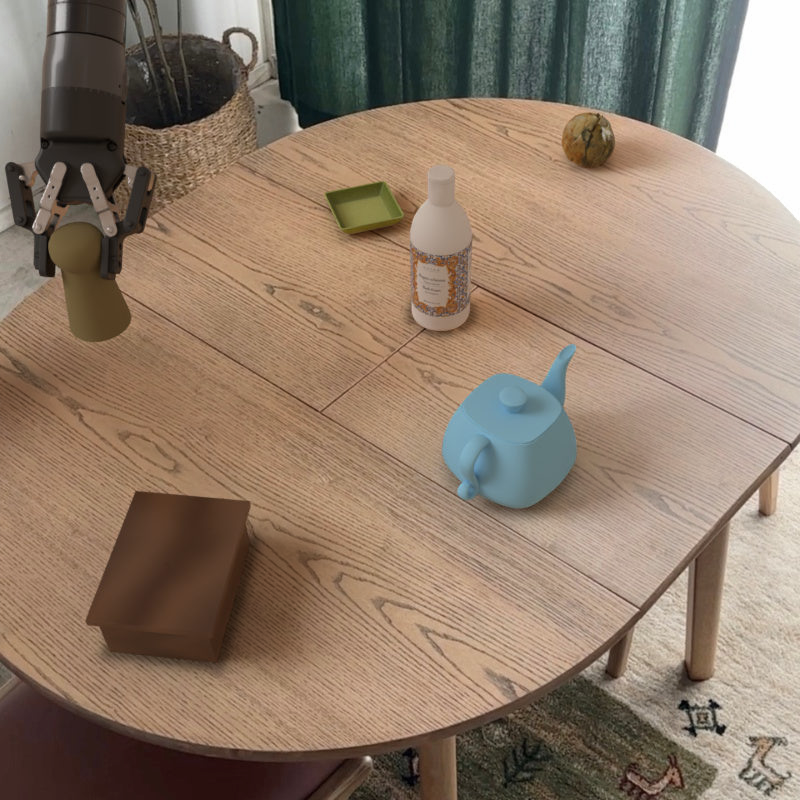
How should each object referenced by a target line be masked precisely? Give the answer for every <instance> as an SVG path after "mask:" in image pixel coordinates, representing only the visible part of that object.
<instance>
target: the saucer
mask: <svg viewBox="0 0 800 800" xmlns="http://www.w3.org/2000/svg"><path fill="white" fill-rule="evenodd" d="M323 196H324V198H325V201H326V203H327V204H328V207H329V208H330V211H331V213H332V215H333V217H334V220H335V222H336V223H337V226H338V228H339V229H340V231H341V232H343V233H344V234H346V235H355V234H358V233H359V234H360V233H364V232H368V231H372V230H377V229H382V228H383V229H384V228H388V227H392V226H394V225H396V224H398V223H399V222H401V221H402V220H403V219H404V217H405V213H404V211H403V209H402V208H401V206H400V204H399V202H398V200H397V198H396V197H395V195H394V193H393V192H392V189H391V188H390V186H389V184H388V182H387V181H386V180H379V181H374V182H369V183H364V184H360V185H355V186H350V187H344V188H339V189H334V190H329V191H324V193H323Z"/></svg>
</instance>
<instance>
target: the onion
mask: <svg viewBox="0 0 800 800" xmlns="http://www.w3.org/2000/svg"><path fill="white" fill-rule="evenodd" d="M560 142H561V146H562V151H563V153H564V154H565V156H566V158H567V159H568V160H569V161H570V162H572V163H573V164H574V165H576V166H578V167H581V168H589V169H590V168H595V167H598V166H600V165H602V164H605V163H606V162H607V161H608V160H609V159H610V158H611V156H612V155H613V153H614V150H615V149H616V135H615V133H614V130H613V128H612V124H611V122H610V121H609V120H608V119H607V118H606V117H605V116H604V115H601V114H600V112H598V113H596V112H591V111H590V112H587V111H585V112H581V113H578V114H576V115H574V116H573V117H572V118H571V119H569V121H568V122H567V123H566V124H565V126H564V129H563V131H562V135H561V141H560Z"/></svg>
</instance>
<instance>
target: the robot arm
mask: <svg viewBox="0 0 800 800" xmlns="http://www.w3.org/2000/svg"><path fill="white" fill-rule="evenodd" d="M127 3H128V2H127V0H47V7H46V9H47V12H46V39H45V46H44V47H45V48H44V53H43V58H42V66H41V67H42V68H41V91H40V92H41V93H40V120H39V121H40V123H39V142H40V148H39V151H38V153H37V155H36V157H35V159H34V160H33V161H29V162H23V163H16V162H14V161H9V162H7V163H6V164H5V166H4V171H5V177H6V185H7V190H8V196H9V200H10V201H9V202H10V207H11V212H12V217H13V218H12V219H13V222H14V224H15V225H16V226H17V227H21V228H23V229H25V230H28V231H29V232H31V233H32V235H33V237H34V238H33V262H32V265H33V267H34V270H37V271H38V275H39V276H40V277H43V278H55V277H56V272H57V271H56V270H57V268H56V267H57V266H56V265H55V263H54V262H53V261H52V259H51V257H50V254H49V249H48V243H49V240H50V237H51V235H52V234H53V232H54V231H55V230H56V229H58V228H59V225H60V222H61V221H62V219H63V217H65V216H66V215H67V212H68V210H69V207H70V206H79V205H83V204H85V205H89V206H92V207H93V209H94V211H95V213H96V214H97V215H98V218H99V221H100V224H101V226H102V230H103V232H104V237H105V238H102V243H101V271H100V275H101V278H102V279H105V280H116V278H117V275H120V274H121V272H122V270H123V255H124V254H123V252H124V241H125V239H126V238H127V237H130V236H132V235H140V234H142V233H143V232H144V231H145V228H146V225H147V221H148V216H149V212H150V209H151V204H152V200H153V197H154V193H155V188H156V185H157V180H158V176H157V173H156V172H154V171H153V170H151V169H150V168H148V167H147V166H135V165H132V164H129V163H128V161H127V158H126V156H125V144H126V122H127V121H126V120H127V119H126V118H127V97H128V94H129V86H128V85H129V84H128V66H127V59H126V57H127V56H126V46H127V45H126V44H127V43H126V42H127V17H128V16H127V13H128V11H127V10H128V9H127V5H128V4H127ZM38 175H39V177H40V178H41V180H42V181H43V183H44V185H45V189H44V191H43V194H42V196H41V198H40V201H39V204H38V206H39V208H38V209H39V210H38V211H37V213H36V207H35V202H34V195H33V189H32V187H33V186H35V184H36V178H37V176H38ZM125 178H127V186H128V187H129V188H130V189H131V190H130V195H129V199H128V202H127V207H126V211H125V215H124V218H123V219H122V217H121V210H120V207H119V203H118V201H117V198H116V195H115V192H116V190H117V189H118V188H119V186H120V185H121V184H122V182H123V181H124V180H125Z"/></svg>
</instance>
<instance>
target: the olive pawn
mask: <svg viewBox="0 0 800 800" xmlns="http://www.w3.org/2000/svg"><path fill="white" fill-rule="evenodd" d="M102 238H105V234H104V233H103V231H102V230H101V229H99V227H98V226H96V225H95V224H92V223H91V222H87V221H73V222H68V223H65V224H63V225H61V226H58V228H57V229H56V230H55V231H54V232H53V234H52V235H51V237H50V240H49V243H48V249H49V254H50V257H51V259H52V261H53V262H54V263H55V265H56V267H57V268H58V269H60V272H61V273H60V274H61V279H62V285H63V292H64V298H65V299H64V300H65V304H66V311H67V317H68V324H69V329H70V333H72V335H73V336H74V337H75V338H77V339H78V340H80V341H82V342H88V343H101V342H106V341H110V340H112V339H114V338H117V337H119V336H120V335H122V334H123V333H124V332H125V331H127V329H128V328H129V326H130V324H131V321H132V313H131V309H130V308H129V306H128V303H127V302H126V300H125V299H126V298H124V295H123V292H122V290H120V287H119V285H118V282H117V280H116V279H115V280H105V279H102V278H101V275H100V271H101V243H102Z"/></svg>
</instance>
